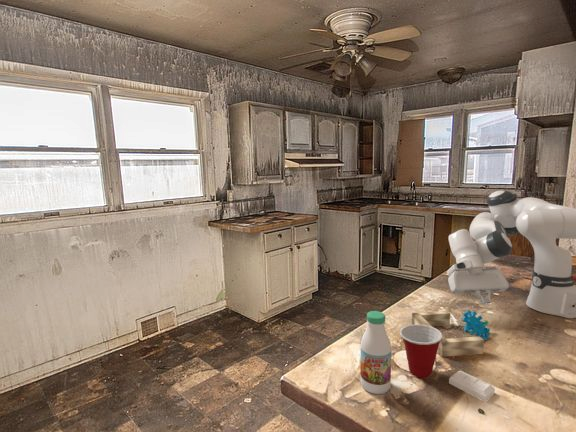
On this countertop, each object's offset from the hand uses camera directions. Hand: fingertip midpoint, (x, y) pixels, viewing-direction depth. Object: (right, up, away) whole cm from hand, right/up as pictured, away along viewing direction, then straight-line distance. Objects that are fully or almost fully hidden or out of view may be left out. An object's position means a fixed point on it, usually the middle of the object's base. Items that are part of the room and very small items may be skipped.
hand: (486, 303), depth 115 cm
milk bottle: (-47, -14, -29) cm, 57 cm away
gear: (-7, -9, -6) cm, 13 cm away
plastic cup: (-34, -13, -24) cm, 43 cm away
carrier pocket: (-18, -10, -7) cm, 22 cm away
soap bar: (-23, -14, -31) cm, 41 cm away
